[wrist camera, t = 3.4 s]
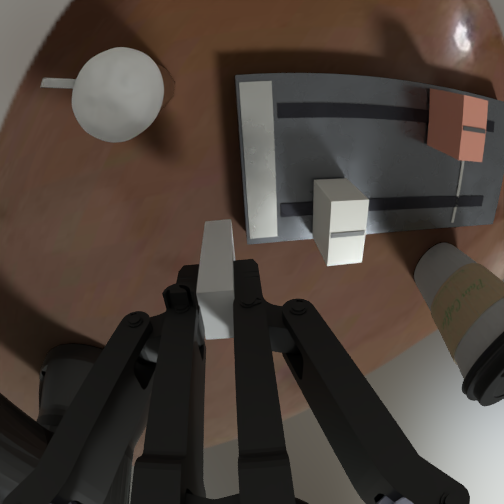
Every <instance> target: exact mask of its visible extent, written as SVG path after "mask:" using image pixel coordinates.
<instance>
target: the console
mask: <svg viewBox="0 0 504 504" xmlns="http://www.w3.org/2000/svg"><path fill="white" fill-rule="evenodd" d="M234 78H235V92H236V106H237V120H238V133H239V147H240V161H241V174H242V188H243V201H244V214H245V227H246V237H247V244H258V243H269V242H280V241H291V240H303V239H313V237H312V233H313V196H314V180H318V179H342V178H347V179H348V180H349V181H350V182H351V183H352V184H353V185H354V186H355V187H356V188H358V189H359V190H360V191H361V192H362V193H363V194H364V195H365V196H366V197H367V198H368V199H369V206H368V216H367V225H366V234H373V233H385V232H397V231H410V230H422V229H434V228H447V227H460V226H473V225H486V224H493V221H494V217H495V213H496V208H497V204H498V199H499V195H500V190H501V185H502V180H503V174H504V102H503V101H499V100H496V99H492V98H489V97H485V96H481V95H477V94H473V93H469V92H464V91H460V90H456V89H451V88H446V87H441V86H436V85H430V84H424V83H418V82H412V81H405V80H397V79H389V78H381V77H371V76H359V75H345V74H325V73H266V74H245V75H235V76H234ZM430 88H431V89H437V90H442V91H447V92H452V93H457V94H462V95H467V96H471V97H475V98H479V99H483V100H487V101H488V112H487V124H486V135H485V144H484V152H483V159H482V162H474V161H461V160H457V159H455V158H453V157H451V156H449V155H447V154H445V153H443V152H441V151H439V150H437V149H434V148H432V147H430V146H428V145H427V138H428V124H429V104H430Z"/></svg>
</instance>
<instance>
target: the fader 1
mask: <svg viewBox="0 0 504 504" xmlns="http://www.w3.org/2000/svg"><path fill="white" fill-rule="evenodd" d="M368 206H369V199H368V198H367V197H366V196H365V195H364V194H363V193H362V192H361V191H360V190H359V189H358V188H356V187H355V186H354V185H353V184H352V183H351V182H350V181H349V180H348V179H347V178H342V179H318V180H314V196H313V233H312V237H313V239H314V241H315V243H316V245H317V247H318V249H319V251H320V253H321V255H322V257H323V259H324V261H325V263H326V265H327V266H333V265H342V264H351V263H360V262H362V257H363V249H364V242H365V234H366V225H367V216H368Z"/></svg>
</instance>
